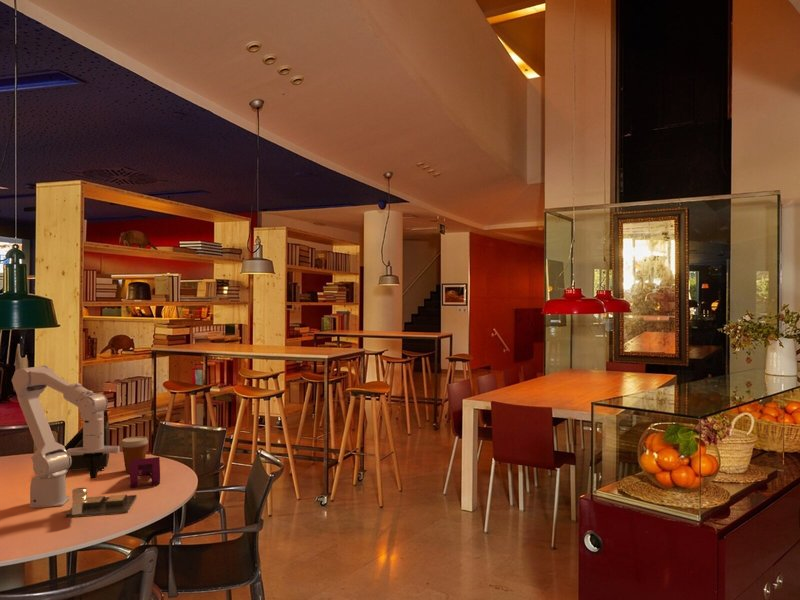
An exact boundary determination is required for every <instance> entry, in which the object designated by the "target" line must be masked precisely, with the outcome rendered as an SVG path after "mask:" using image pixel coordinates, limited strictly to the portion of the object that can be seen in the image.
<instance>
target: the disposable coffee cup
mask: <svg viewBox="0 0 800 600" xmlns="http://www.w3.org/2000/svg"><path fill="white" fill-rule="evenodd" d="M148 443H149V440H148V437H146V436H130V437H125V438H123V439H121V442H120V445H121V447H122V454H123V461H124V469H125V470H124V471H125V473H126V472H127V474H129V465H130V460H137V459H146V458H147V457H146V455H147V447H148V446H147V445H148Z"/></svg>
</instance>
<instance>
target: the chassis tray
mask: <svg viewBox="0 0 800 600" xmlns="http://www.w3.org/2000/svg"><path fill="white" fill-rule="evenodd" d="M136 500H137V494H131V495H128V494H115V495H110V496H104V495H102V496H101V495H100V496H98V495H97V496H87V499H86V500H84V503H83V509H82V514H75V515H72V507H71V508H69V510H68V511H67V512H66V513H65V518H75V517H74V516H79V517H88V516H87V515H92V516H100V514H105V515H112V514H111V513H118V514H126V513H125V512H127V513H128V512H129V511H130V509H131V508H130V507H132V506H133V504H134V503H135V501H136ZM128 510H129V511H128Z"/></svg>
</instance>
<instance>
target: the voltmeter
mask: <svg viewBox="0 0 800 600" xmlns="http://www.w3.org/2000/svg"><path fill="white" fill-rule="evenodd" d="M104 446H110V419H109V415H108V411H104ZM64 447H65V450H66V451H67V450H68V449H71V448H80V447H83V427H82V428H81V429H79V431H78V432H76V434H74V436H73V437H72V438H71V439H70V440H69V441H68V442H67V443H66V444H65V446H64ZM83 456H84V455H72V456H71V459H72V463H71V466H70V467H69V469H67V470H68V472H69V473H70V471H77V470H88V468H87V466H86V464H85V462H84V461H83ZM109 459H110V453H107V454H104V456H103V458H102V461H101V463H100V466H99V469H98V471H103V470H102V469H104V470H105V468H107V467H108V463H109ZM68 472H67V474H69V473H68Z"/></svg>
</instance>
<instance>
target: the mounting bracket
mask: <svg viewBox="0 0 800 600" xmlns="http://www.w3.org/2000/svg"><path fill="white" fill-rule="evenodd" d="M145 474H146V475H151V479H150V480H151V485H153V484H154V485H160V483H161V461H160V456H154V457H145V459H137V460H130V465H129V473H128V475H129V486H130V487H131V488H135V487H137V486H138V487H139V476H144V475H145Z"/></svg>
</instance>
